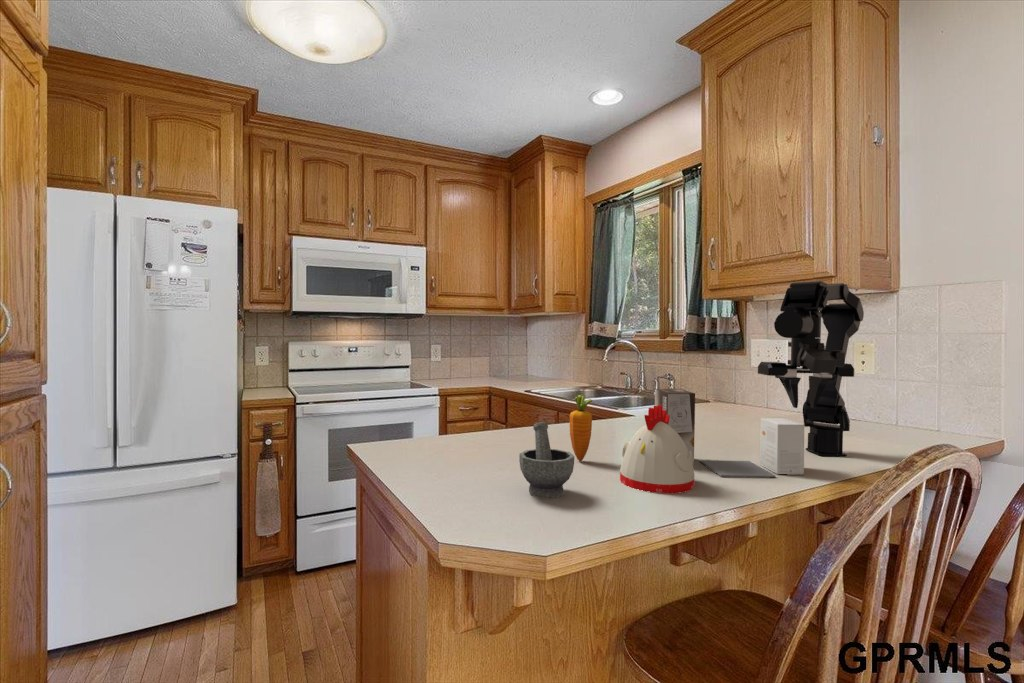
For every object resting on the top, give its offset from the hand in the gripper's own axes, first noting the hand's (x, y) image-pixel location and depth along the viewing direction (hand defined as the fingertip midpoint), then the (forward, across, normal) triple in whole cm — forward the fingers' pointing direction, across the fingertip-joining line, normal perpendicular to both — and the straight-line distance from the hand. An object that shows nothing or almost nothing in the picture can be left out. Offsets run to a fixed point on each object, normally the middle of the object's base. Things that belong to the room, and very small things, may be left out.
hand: (804, 407), depth 117 cm
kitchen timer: (+13, -37, -16) cm, 42 cm away
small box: (+13, -8, -6) cm, 16 cm away
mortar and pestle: (+13, -59, -23) cm, 65 cm away
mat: (+12, -18, -6) cm, 22 cm away
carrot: (+13, -50, -1) cm, 52 cm away
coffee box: (+13, -29, 0) cm, 32 cm away
